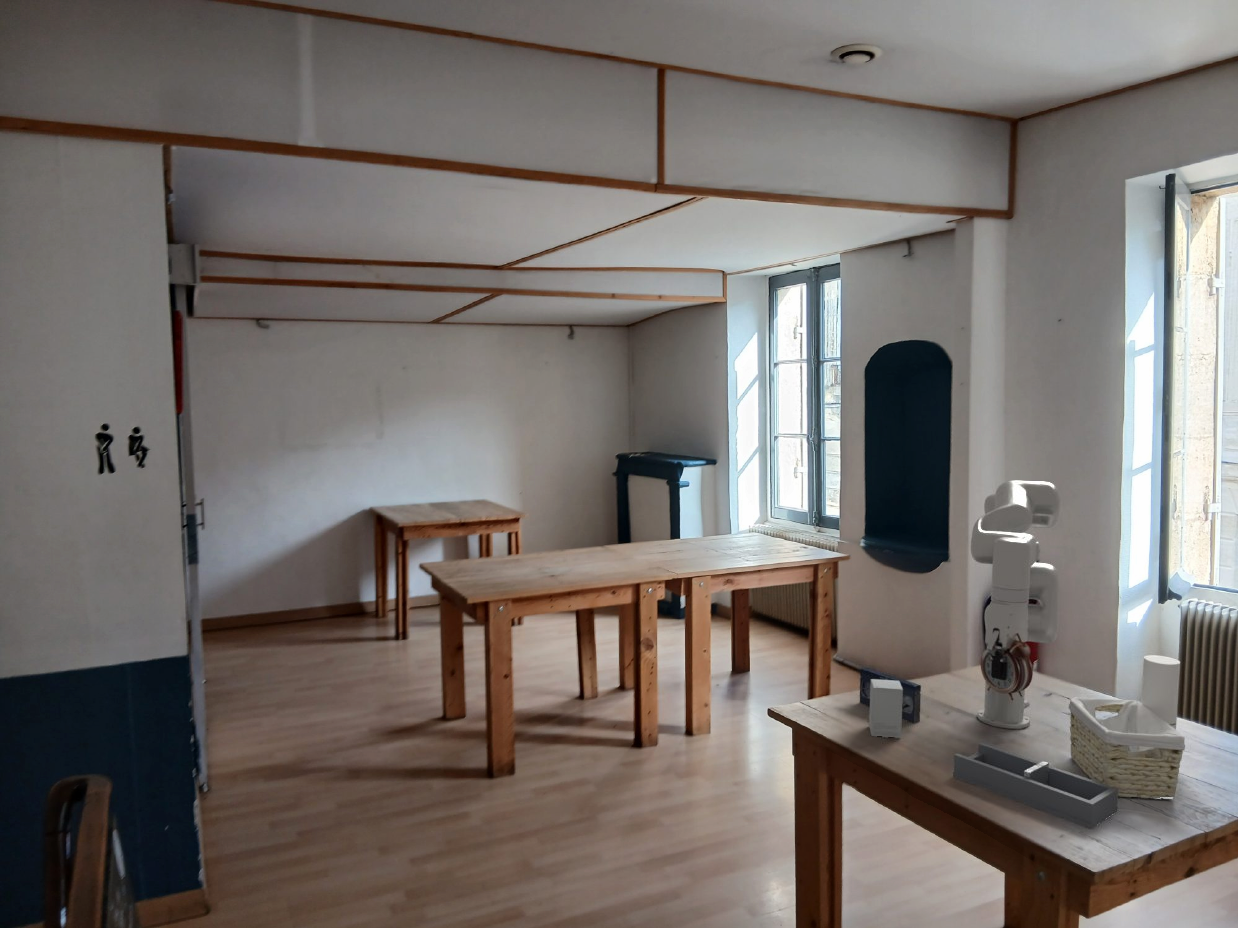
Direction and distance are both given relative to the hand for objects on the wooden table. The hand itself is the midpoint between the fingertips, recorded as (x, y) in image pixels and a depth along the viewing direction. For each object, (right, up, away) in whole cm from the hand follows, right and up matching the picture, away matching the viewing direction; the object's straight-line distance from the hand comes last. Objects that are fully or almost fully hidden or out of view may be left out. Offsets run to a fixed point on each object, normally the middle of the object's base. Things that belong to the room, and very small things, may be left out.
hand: (1006, 674), depth 194 cm
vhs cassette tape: (-12, -21, +45) cm, 51 cm away
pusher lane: (+4, -25, -3) cm, 25 cm away
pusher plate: (+5, -24, -4) cm, 24 cm away
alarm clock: (0, -5, 0) cm, 5 cm away
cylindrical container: (+40, -24, +12) cm, 48 cm away
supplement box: (-17, -22, +31) cm, 42 cm away
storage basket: (+28, -25, +5) cm, 37 cm away
